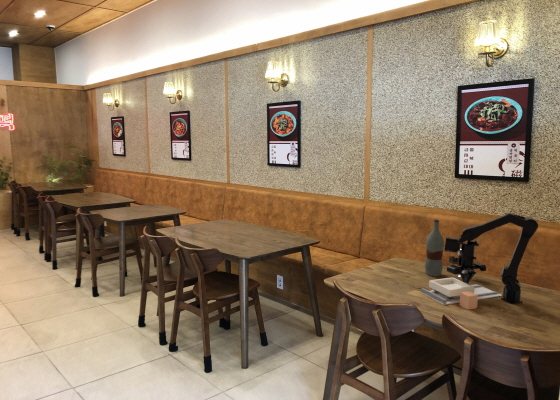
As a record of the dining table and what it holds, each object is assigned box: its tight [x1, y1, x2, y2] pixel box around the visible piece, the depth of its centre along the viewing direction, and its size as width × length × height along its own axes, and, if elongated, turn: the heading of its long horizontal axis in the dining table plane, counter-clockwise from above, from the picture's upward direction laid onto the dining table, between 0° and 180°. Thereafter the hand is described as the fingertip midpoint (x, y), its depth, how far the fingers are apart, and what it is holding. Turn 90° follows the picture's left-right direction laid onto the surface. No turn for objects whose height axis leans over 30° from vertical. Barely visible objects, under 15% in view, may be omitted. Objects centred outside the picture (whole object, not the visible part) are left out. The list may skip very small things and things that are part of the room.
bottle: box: [424, 218, 445, 277], centre depth 237 cm, size 9×9×30 cm
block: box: [459, 291, 479, 310], centre depth 194 cm, size 5×5×6 cm
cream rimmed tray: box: [428, 277, 474, 299], centre depth 206 cm, size 14×14×5 cm
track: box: [420, 284, 503, 306], centre depth 209 cm, size 16×34×2 cm, turn 110°
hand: (465, 285), depth 209 cm, fingers closed
